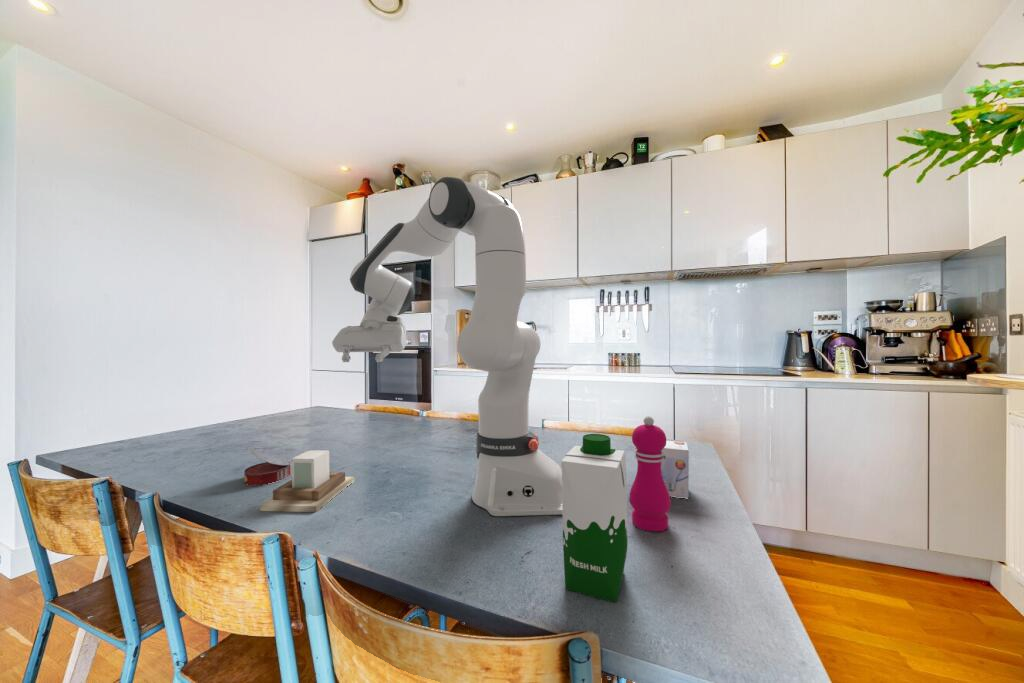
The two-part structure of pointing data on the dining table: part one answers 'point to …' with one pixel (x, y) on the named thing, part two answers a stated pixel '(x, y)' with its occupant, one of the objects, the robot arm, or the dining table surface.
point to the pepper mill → (649, 479)
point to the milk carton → (594, 517)
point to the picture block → (310, 469)
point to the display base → (306, 495)
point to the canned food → (266, 469)
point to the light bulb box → (676, 468)
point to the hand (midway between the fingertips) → (361, 360)
